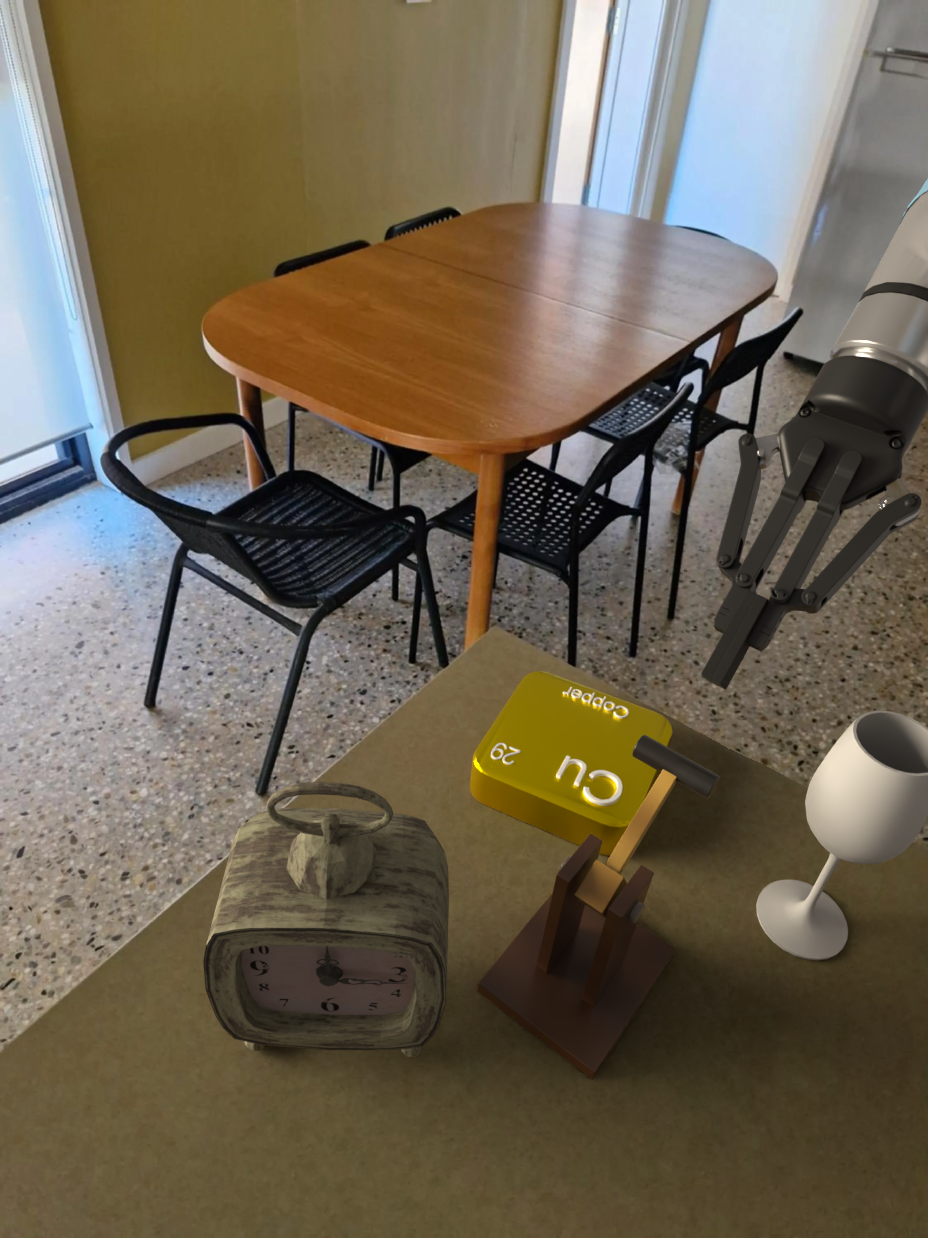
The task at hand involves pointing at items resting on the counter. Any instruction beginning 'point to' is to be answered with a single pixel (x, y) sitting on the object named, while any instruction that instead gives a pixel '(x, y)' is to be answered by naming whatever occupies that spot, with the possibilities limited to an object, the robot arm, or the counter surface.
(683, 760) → the lever
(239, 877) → the tabletop clock
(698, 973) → the counter surface
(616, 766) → the element tile
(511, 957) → the wooden lever stand
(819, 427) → the robot arm
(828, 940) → the wineglass
